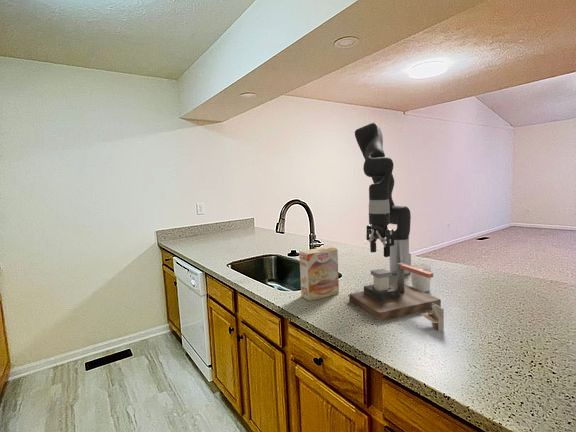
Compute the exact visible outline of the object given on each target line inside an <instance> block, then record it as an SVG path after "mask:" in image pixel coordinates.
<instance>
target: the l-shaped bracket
mask: <svg viewBox="0 0 576 432" xmlns="http://www.w3.org/2000/svg"><path fill="white" fill-rule="evenodd" d="M404 270H407V271H410V273H411V272H413V273H415V274H418V275H421V276H424V277H427V278H430V279H431V278H432V279H433V278H434V273H433V272H428V271H425V270H422V269H418V268H415V267H412V266H409V265H406V264H404V263H397V275H396V277H397V278H396V279H397V282H396V283H397V284H396V285H397V289H399V290H400V292H404V284H405V275H404Z"/></svg>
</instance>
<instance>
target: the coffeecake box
mask: <svg viewBox="0 0 576 432" xmlns="http://www.w3.org/2000/svg"><path fill="white" fill-rule="evenodd" d="M338 253H339V252H338V248H336V247H333V246H329V245H328V246H324V247H316V248H312V249H305V250H299V252H298V254H299V255H298V257H299V271H300V272H299V273H300V275H299V276H300V293H301V294H300V295H301V298H303V299H306V300H307V301H308V302H312V301H315V300H318V299H319V300H320V299H324V298H327V297H331V296H335V295H339V293H340V289H339V288H340V285H339V282H340V281H339V257H338V256H339V255H338Z"/></svg>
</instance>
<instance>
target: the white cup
mask: <svg viewBox="0 0 576 432" xmlns="http://www.w3.org/2000/svg"><path fill="white" fill-rule="evenodd" d="M411 266H412V267H415V268H418V269H422V270H425V271H428V272H431V271H432V266H431V265H429V264H425V263H424V264H422V263H414V264H413V263H412V264H411ZM431 273H432V272H431ZM410 278H411V285H412V286H411V287H412V288H415V289H417V290H420V291H422V292H424V293H427V292H429V291H430V290H431V289H430V288H431V278H427V277H424V276H421V275H418V274H415V273H413V272H410Z"/></svg>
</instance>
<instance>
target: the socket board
mask: <svg viewBox="0 0 576 432" xmlns="http://www.w3.org/2000/svg"><path fill="white" fill-rule="evenodd" d="M348 296H349V300H348V301H349V303H351V304H353V305H354V306H355V307H357V308H359V309H360V310H362V311H363V312H365V313H366V314H367V315H370V316H371V317H372V318H374V319H375V320H377V321H378V322H384V321H387V320H391V319H396V318H401V317H406V316H411V315H414V314H418V313H422V312H428V310H429V311H432V308H431V307H432V303H434V304H436V305H438V306H439V307H441V306H442V303H441V302H442V301H441V299H440V298H438V297H436V296H434V295H431V294H430V293H427V292H422V291H420V290H417V289H415V288H412V286H410V285H407V284H405V283H404V292H400V290H399V289H397V284H396V285H391V284H389V290H384V291H378V290H376V289H374V284H368V285H364V286H363V291H360V292H359V291H358V292H354V293H350V294H349V295H348ZM430 305H431V306H430ZM441 308H442V307H441Z"/></svg>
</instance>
